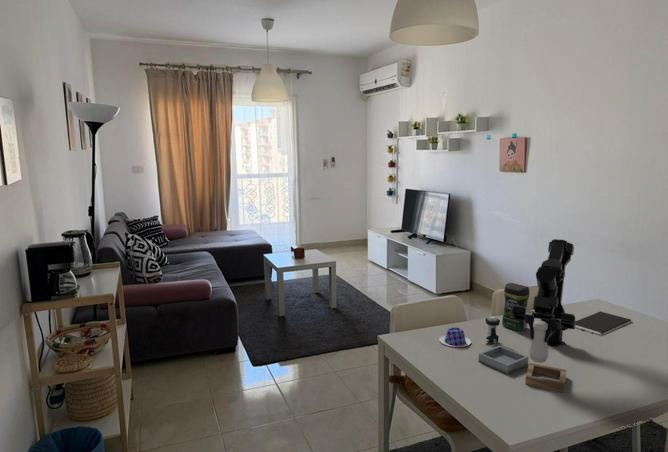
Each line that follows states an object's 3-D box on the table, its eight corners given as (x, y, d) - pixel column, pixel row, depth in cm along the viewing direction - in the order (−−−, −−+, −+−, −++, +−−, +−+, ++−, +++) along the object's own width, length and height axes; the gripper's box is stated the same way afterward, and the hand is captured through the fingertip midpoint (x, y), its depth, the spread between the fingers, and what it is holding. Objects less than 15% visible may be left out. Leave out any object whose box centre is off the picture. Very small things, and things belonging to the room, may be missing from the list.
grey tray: (499, 353, 168) (499, 345, 167) (527, 365, 158) (528, 356, 158) (478, 361, 161) (478, 353, 161) (507, 374, 152) (507, 365, 151)
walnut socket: (529, 369, 155) (529, 362, 154) (565, 377, 150) (566, 369, 149) (525, 384, 145) (525, 376, 145) (564, 392, 140) (564, 384, 140)
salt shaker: (525, 356, 151) (527, 318, 149) (542, 355, 151) (545, 318, 149) (533, 364, 146) (535, 325, 143) (551, 363, 146) (553, 324, 143)
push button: (490, 346, 173) (491, 321, 172) (479, 342, 178) (480, 317, 176) (501, 342, 177) (503, 318, 175) (490, 338, 181) (491, 314, 180)
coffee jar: (498, 326, 194) (500, 283, 191) (508, 321, 199) (511, 280, 196) (520, 332, 187) (523, 288, 184) (530, 328, 192) (532, 285, 189)
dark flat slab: (567, 327, 194) (567, 323, 193) (600, 314, 209) (600, 310, 208) (599, 337, 183) (600, 333, 183) (631, 322, 198) (632, 319, 197)
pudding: (458, 334, 186) (459, 322, 185) (477, 345, 175) (478, 332, 174) (433, 339, 182) (433, 326, 181) (451, 350, 171) (451, 337, 170)
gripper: (514, 281, 153) (504, 323, 146) (577, 290, 143) (570, 336, 135) (518, 297, 161) (509, 338, 153) (578, 306, 151) (571, 351, 143)
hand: (538, 340), depth 146 cm, fingers closed on salt shaker, 3 cm apart
